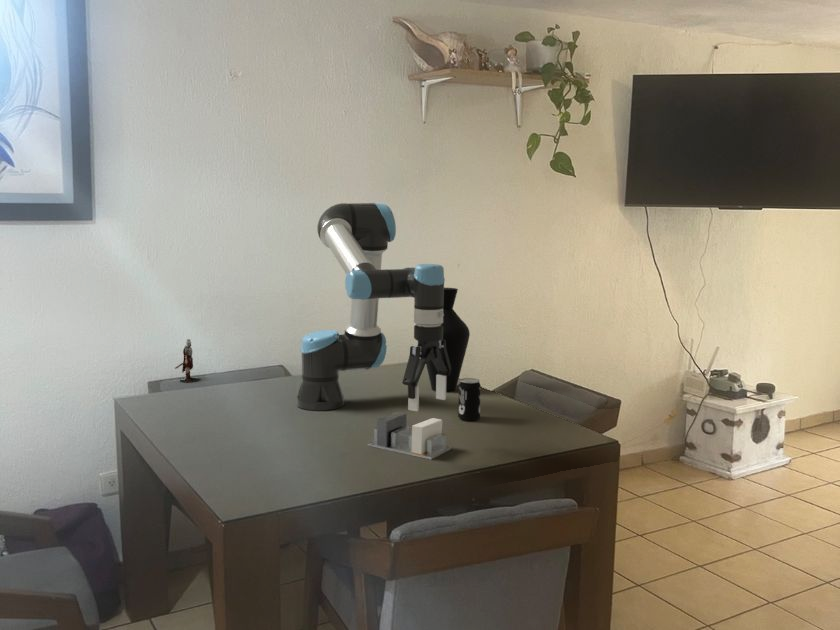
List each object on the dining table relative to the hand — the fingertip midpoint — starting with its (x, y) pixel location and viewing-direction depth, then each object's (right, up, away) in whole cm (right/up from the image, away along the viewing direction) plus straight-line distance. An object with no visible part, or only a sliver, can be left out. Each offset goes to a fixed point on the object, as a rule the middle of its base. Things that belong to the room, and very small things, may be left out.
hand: (427, 404), depth 208 cm
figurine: (-85, 0, +76) cm, 114 cm away
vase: (+6, -3, +68) cm, 69 cm away
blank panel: (0, -12, +2) cm, 12 cm away
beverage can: (+13, -8, +32) cm, 36 cm away
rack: (-5, -12, +5) cm, 14 cm away
